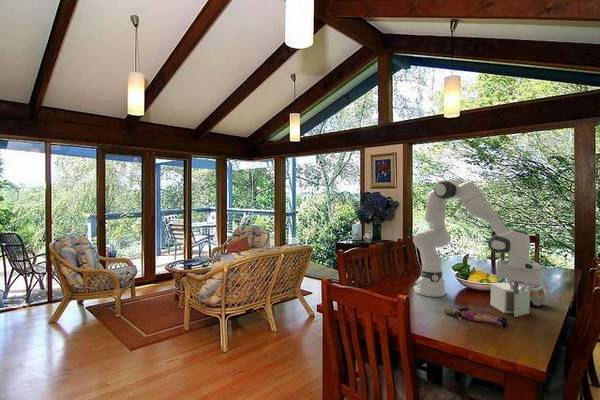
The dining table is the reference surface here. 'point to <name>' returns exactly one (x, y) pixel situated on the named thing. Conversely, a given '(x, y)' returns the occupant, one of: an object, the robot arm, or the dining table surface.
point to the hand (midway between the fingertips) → (517, 290)
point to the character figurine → (474, 316)
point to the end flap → (521, 301)
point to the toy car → (535, 294)
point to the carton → (503, 297)
